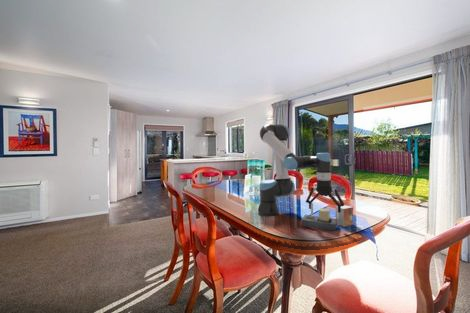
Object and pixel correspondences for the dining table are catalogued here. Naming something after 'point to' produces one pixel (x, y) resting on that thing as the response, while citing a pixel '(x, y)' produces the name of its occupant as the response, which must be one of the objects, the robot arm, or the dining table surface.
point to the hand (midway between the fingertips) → (324, 216)
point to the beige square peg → (324, 215)
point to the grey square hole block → (318, 223)
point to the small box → (345, 216)
